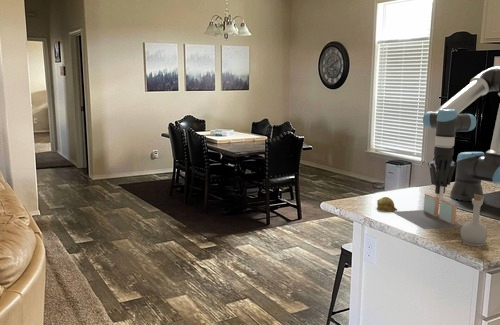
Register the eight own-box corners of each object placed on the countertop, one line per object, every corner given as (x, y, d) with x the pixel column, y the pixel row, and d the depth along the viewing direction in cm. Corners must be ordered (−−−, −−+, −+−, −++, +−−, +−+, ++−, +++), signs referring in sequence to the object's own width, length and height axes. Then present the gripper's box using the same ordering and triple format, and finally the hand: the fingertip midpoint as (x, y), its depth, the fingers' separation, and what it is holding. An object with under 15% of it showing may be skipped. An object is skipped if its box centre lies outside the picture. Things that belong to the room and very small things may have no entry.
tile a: (426, 211, 203) (427, 193, 202) (437, 216, 196) (439, 197, 194) (423, 211, 203) (424, 193, 202) (434, 216, 195) (435, 198, 194)
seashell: (393, 221, 205) (401, 205, 207) (391, 214, 199) (399, 198, 201) (373, 213, 210) (381, 198, 212) (370, 206, 204) (378, 191, 207)
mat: (428, 211, 206) (428, 209, 206) (464, 227, 183) (464, 226, 183) (391, 213, 202) (391, 211, 202) (424, 230, 179) (424, 228, 179)
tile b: (442, 218, 193) (443, 199, 191) (454, 224, 185) (456, 204, 184) (438, 218, 192) (440, 199, 191) (451, 224, 185) (453, 205, 183)
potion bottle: (454, 239, 169) (459, 190, 166) (478, 238, 170) (483, 190, 167) (468, 247, 161) (473, 197, 158) (492, 247, 162) (498, 196, 158)
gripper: (451, 145, 200) (446, 198, 204) (425, 145, 197) (420, 199, 201) (463, 147, 193) (458, 202, 197) (436, 147, 190) (431, 203, 194)
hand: (439, 200), depth 199 cm, fingers closed
